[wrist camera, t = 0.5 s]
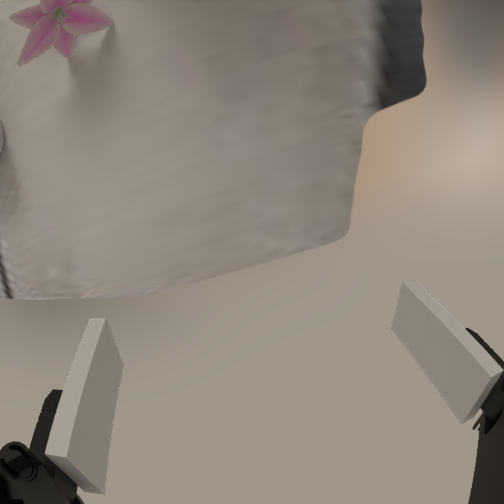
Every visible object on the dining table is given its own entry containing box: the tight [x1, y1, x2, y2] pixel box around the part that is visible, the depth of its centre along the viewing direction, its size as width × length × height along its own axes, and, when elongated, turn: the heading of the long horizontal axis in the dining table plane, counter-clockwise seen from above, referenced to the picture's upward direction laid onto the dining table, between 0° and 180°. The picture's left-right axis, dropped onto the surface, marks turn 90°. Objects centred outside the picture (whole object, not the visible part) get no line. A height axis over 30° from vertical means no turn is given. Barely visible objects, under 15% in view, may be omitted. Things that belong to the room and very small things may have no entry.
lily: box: [9, 0, 113, 66], centre depth 22 cm, size 12×12×10 cm
